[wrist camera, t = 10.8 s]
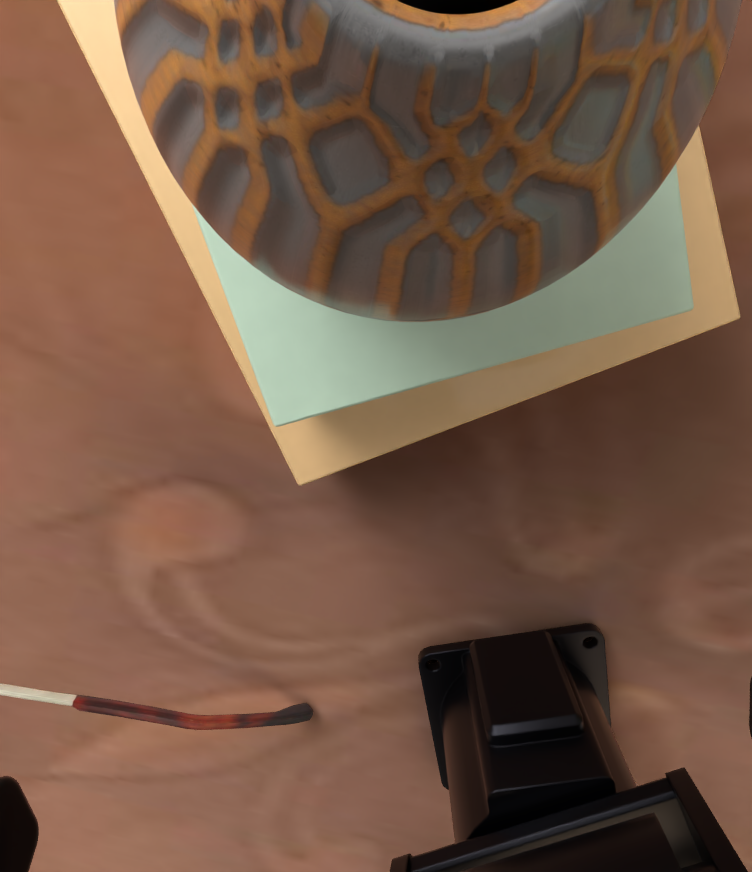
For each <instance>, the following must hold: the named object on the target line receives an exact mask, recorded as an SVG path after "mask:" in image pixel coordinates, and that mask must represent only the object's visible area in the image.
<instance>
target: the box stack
mask: <svg viewBox="0 0 752 872" xmlns="http://www.w3.org/2000/svg"><path fill="white" fill-rule="evenodd" d="M57 2H58V4H59V6H60V8H61V10H62V12H63V14H64V16H65V18H66V20H67V22H68V24H69V26H70V28H71V30H72V32H73V34H74V36H75V38H76V40H77V42H78V44H79V46H80V48H81V50H82V52H83V54H84V56H85V58H86V60H87V62H88V64H89V66H90V68H91V70H92V72H93V74H94V76H95V78H96V80H97V82H98V84H99V86H100V88H101V90H102V92H103V94H104V96H105V98H106V100H107V102H108V104H109V106H110V108H111V110H112V112H113V114H114V116H115V118H116V120H117V122H118V124H119V126H120V128H121V130H122V132H123V134H124V136H125V138H126V140H127V142H128V144H129V146H130V148H131V150H132V152H133V154H134V156H135V158H136V160H137V162H138V164H139V166H140V168H141V170H142V172H143V174H144V176H145V178H146V180H147V182H148V184H149V186H150V188H151V190H152V192H153V194H154V196H155V198H156V201H157V203H158V205H159V207H160V209H161V211H162V213H163V215H164V217H165V219H166V221H167V223H168V225H169V227H170V229H171V231H172V233H173V235H174V237H175V239H176V241H177V243H178V245H179V247H180V249H181V251H182V253H183V255H184V257H185V259H186V261H187V263H188V265H189V267H190V269H191V271H192V273H193V275H194V277H195V279H196V281H197V283H198V285H199V287H200V289H201V291H202V293H203V295H204V297H205V299H206V301H207V303H208V305H209V307H210V309H211V311H212V313H213V315H214V317H215V319H216V321H217V323H218V325H219V327H220V329H221V331H222V333H223V335H224V337H225V339H226V341H227V343H228V345H229V347H230V349H231V351H232V353H233V355H234V357H235V359H236V361H237V363H238V365H239V367H240V369H241V371H242V373H243V375H244V377H245V379H246V381H247V383H248V385H249V387H250V389H251V391H252V393H253V395H254V397H255V399H256V401H257V403H258V405H259V407H260V409H261V411H262V413H263V415H264V417H265V419H266V421H267V423H268V425H269V427H270V429H271V431H272V433H273V435H274V437H275V439H276V441H277V443H278V445H279V448H280V450H281V452H282V454H283V456H284V458H285V460H286V462H287V464H288V466H289V468H290V470H291V472H292V474H293V476H294V478H295V480H296V482H297V484H298V485H299V486H301V485H304V484H307V483H309V482H312V481H315V480H317V479H320V478H322V477H325V476H328V475H330V474H333V473H336V472H338V471H341V470H343V469H346V468H349V467H351V466H354V465H357V464H359V463H362V462H364V461H367V460H370V459H372V458H375V457H378V456H380V455H383V454H386V453H388V452H391V451H393V450H396V449H399V448H401V447H404V446H407V445H409V444H412V443H414V442H417V441H420V440H422V439H425V438H428V437H430V436H433V435H435V434H438V433H441V432H443V431H446V430H449V429H451V428H454V427H456V426H459V425H462V424H464V423H467V422H470V421H472V420H475V419H477V418H480V417H483V416H485V415H488V414H491V413H493V412H496V411H498V410H501V409H504V408H506V407H509V406H512V405H514V404H517V403H519V402H522V401H525V400H527V399H530V398H533V397H535V396H538V395H541V394H543V393H546V392H548V391H551V390H554V389H556V388H559V387H562V386H564V385H567V384H569V383H572V382H575V381H577V380H580V379H583V378H585V377H588V376H590V375H593V374H596V373H598V372H601V371H604V370H606V369H609V368H611V367H614V366H617V365H619V364H622V363H625V362H627V361H630V360H632V359H635V358H638V357H640V356H643V355H646V354H648V353H651V352H653V351H656V350H659V349H661V348H664V347H667V346H669V345H672V344H674V343H677V342H680V341H682V340H685V339H688V338H690V337H693V336H696V335H698V334H701V333H703V332H706V331H709V330H711V329H714V328H717V327H719V326H722V325H724V324H727V323H730V322H732V321H735V320H737V319H739V318H740V312H739V307H738V303H737V298H736V294H735V289H734V284H733V280H732V275H731V271H730V266H729V261H728V257H727V252H726V248H725V243H724V238H723V234H722V229H721V225H720V220H719V215H718V211H717V206H716V202H715V197H714V192H713V188H712V183H711V179H710V174H709V169H708V165H707V160H706V156H705V151H704V146H703V142H702V137H701V133H700V128H699V125H698V127H697V129H696V130H695V132H694V134H693V136H692V138H691V140H690V141H689V143H688V145H687V146H686V148H685V149H684V151H683V153H682V154H681V156H680V158H679V159H678V161H677V162H676V164H675V166H674V167H673V169H672V170H671V172H670V173H669V174H668V176H667V177H666V179H665V180H664V182H663V183H662V184H661V186H660V187H659V189H658V190H657V191H656V192H655V194H654V195H653V196H652V197H651V198H650V200H649V201H648V202H647V203H646V205H645V206H644V207H643V208H642V209H641V210H640V211H639V213H638V214H637V215H636V216H635V217H634V218H633V219H632V220H631V221H630V222H629V223H628V224H627V225H626V226H625V227H624V228H623V229H622V230H621V231H620V232H619V233H618V234H617V235H616V236H615V237H614V238H613V239H612V240H611V241H610V242H609V243H607V244H606V245H605V246H604V247H603V248H602V249H601V250H599V251H598V252H597V253H596V254H595V255H593V256H592V257H591V258H590V259H588V260H587V261H586V262H585V263H583V264H582V265H580V266H579V267H577V268H576V269H574V270H573V271H572V272H570V273H569V274H567V275H566V276H564V277H562V278H561V279H559V280H557V281H556V282H554V283H552V284H551V285H549V286H547V287H545V288H543V289H541V290H539V291H537V292H535V293H533V294H531V295H529V296H527V297H525V298H523V299H521V300H518V301H516V302H513V303H511V304H508V305H506V306H503V307H500V308H497V309H494V310H491V311H488V312H484V313H480V314H476V315H472V316H468V317H463V318H457V319H450V320H443V321H431V322H398V321H385V320H378V319H372V318H366V317H361V316H357V315H353V314H349V313H345V312H341V311H338V310H335V309H332V308H329V307H326V306H323V305H321V304H319V303H316V302H314V301H311V300H309V299H306V298H304V297H303V296H301V295H299V294H297V293H295V292H293V291H291V290H289V289H287V288H285V287H284V286H282V285H280V284H279V283H277V282H275V281H274V280H272V279H270V278H269V277H267V276H266V275H265V274H263V273H262V272H260V271H259V270H258V269H256V268H255V267H253V266H252V265H251V264H250V263H249V262H247V261H246V260H245V259H244V258H243V257H241V256H240V255H239V254H238V253H236V252H235V251H234V250H233V249H232V248H231V247H230V246H229V245H228V244H227V243H226V242H225V241H224V240H223V239H222V238H221V237H220V236H219V235H218V234H217V233H216V232H215V231H214V230H213V228H212V227H211V226H210V225H209V224H208V223H207V222H206V221H205V219H204V218H203V217H202V216H201V214H200V213H199V212H198V211H197V209H196V208H195V207H194V205H193V204H192V203H191V202H190V200H189V199H188V198H187V196H186V195H185V193H184V192H183V190H182V189H181V187H180V186H179V184H178V183H177V181H176V180H175V178H174V177H173V175H172V173H171V172H170V170H169V168H168V166H167V165H166V163H165V161H164V160H163V158H162V156H161V154H160V152H159V150H158V148H157V146H156V144H155V142H154V140H153V138H152V136H151V134H150V131H149V129H148V126H147V124H146V121H145V119H144V117H143V114H142V112H141V109H140V107H139V104H138V102H137V99H136V96H135V93H134V90H133V87H132V84H131V81H130V78H129V75H128V71H127V67H126V63H125V59H124V55H123V51H122V47H121V42H120V37H119V31H118V26H117V21H116V14H115V6H114V0H57Z"/></svg>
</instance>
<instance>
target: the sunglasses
mask: <svg viewBox="0 0 752 872" xmlns="http://www.w3.org/2000/svg"><path fill="white" fill-rule="evenodd" d="M0 695H4V696H10V697H16V698H22V699H28V700H34V701H41V702H48V703H54V704H61V705H68V706H73V707H75V708H76V709H77V710H79V711H85V712H92V713H99V714H105V715H112V716H119V717H124V718H130V719H136V720H142V721H148V722H153V723H159V724H165V725H170V726H175V727H180V728H185V729H195V730H212V729H234V728H250V727H263V726H275V725H287V724H294V723H300V722H304V721H308V720H310V719H311V718H312V716H313V710H312V709H311V708H310V706H309V705H308V704H307V703H303V704H298V705H293V706H291V707H288V708H285V709H283V710H280V711H277V712H270V713H255V714H233V715H194V714H187V713H182V712H177V711H172V710H167V709H161V708H156V707H150V706H145V705H139V704H134V703H128V702H122V701H117V700H110V699H103V698H96V697H90V696H82V695H73V694H65V693H57V692H50V691H44V690H38V689H32V688H26V687H20V686H14V685H8V684H2V683H0Z"/></svg>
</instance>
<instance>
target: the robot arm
mask: <svg viewBox="0 0 752 872" xmlns="http://www.w3.org/2000/svg"><path fill="white" fill-rule="evenodd" d="M587 637H593V638H592V639H591V640H589V641H583V640H584V639H585V638H587ZM432 659H433V660H437V662H436V663H434V664H432V663H428V661H429V660H432ZM418 661H419V670H420V675H421V680H422V685H423V690H424V695H425V700H426V705H427V710H428V715H429V720H430V725H431V730H432V736H433V741H434V746H435V751H436V756H437V761H438V766H439V771H440V776H441V781H442V784H443V786H444V787H445V788H446V789H448V790H449V794H450V803H451V811H452V820H453V829H454V837H455V844H452V845H448V846H445V847H442V848H439V849H436V850H433V851H429V852H426V853H423V854H420V855H417V856H413V857H412V855H411V854H407V855H404V856H401V857H397V858H394V859H393V860H392V863H391V869H390V872H748V871H747V870H746V868H745V866H744V865H743V863H742V861H741V860H740V858H739V856H738V855H737V853H736V851H735V850H734V848H733V847H732V845H731V843H730V842H729V840H728V838H727V837H726V835H725V833H724V832H723V830H722V828H721V827H720V825H719V823H718V822H717V820H716V819H715V817H714V815H713V814H712V812H711V810H710V809H709V807H708V805H707V804H706V802H705V800H704V799H703V797H702V795H701V794H700V792H699V791H698V789H697V787H696V786H695V784H694V782H693V781H692V779H691V777H690V776H689V774H688V772H687V771H686V769H685V768H681V769H677V770H674V771H671V772H668V773H665V774H666V778H662V779H659V780H656V781H653V782H650V783H646V784H643V785H640V786H636V784H635V782H634V780H633V777H632V775H631V773H630V770H629V768H628V766H627V764H626V761H625V759H624V757H623V754H622V752H621V750H620V748H619V745H618V743H617V741H616V738H615V736H614V734H613V732H612V729H611V720H610V707H609V693H608V680H607V666H606V653H605V640H604V637H603V635H602V633H601V631H600V629H599V628H598V627H597V626H596V625H593V624H580V625H573V626H566V627H559V628H553V629H546V630H539V631H532V632H525V633H518V634H512V635H505V636H498V637H491V638H484V639H477V640H471V641H464V642H457V643H450V644H443V645H436V646H430V647H427V648H424V649H423V650H422V651H421V652H420V654H419V657H418ZM749 727H750V734H751V737H752V677H751V681H750V715H749ZM38 834H39V828H38V822H37V819H36V817H35V815H34V813H33V811H32V809H31V807H30V805H29V803H28V801H27V799H26V797H25V795H24V793H23V791H22V789H21V787H20V785H19V783H18V782H17V780H15V779H14V778H12V777H9V776H3V777H0V872H28V871H29V868H30V865H31V862H32V859H33V855H34V852H35V849H36V846H37V841H38Z"/></svg>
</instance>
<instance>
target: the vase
mask: <svg viewBox="0 0 752 872" xmlns="http://www.w3.org/2000/svg"><path fill="white" fill-rule="evenodd" d="M741 2H742V0H114V6H115V14H116V21H117V26H118V31H119V37H120V42H121V47H122V51H123V55H124V59H125V63H126V67H127V71H128V75H129V78H130V81H131V84H132V87H133V90H134V93H135V96H136V99H137V102H138V104H139V107H140V109H141V112H142V114H143V117H144V119H145V121H146V124H147V126H148V129H149V131H150V134H151V136H152V138H153V140H154V142H155V144H156V146H157V148H158V150H159V152H160V154H161V156H162V158H163V160H164V161H165V163H166V165H167V166H168V168H169V170H170V172H171V173H172V175H173V177H174V178H175V180H176V181H177V183H178V184H179V186H180V187H181V189H182V190H183V192H184V193H185V195H186V196H187V198H188V199H189V200H190V202H191V203H192V204H193V205H194V207H195V208H196V209H197V211H198V212H199V213H200V214H201V216H202V217H203V218H204V219H205V221H206V222H207V223H208V224H209V225H210V226H211V227H212V228H213V230H214V231H215V232H216V233H217V234H218V235H219V236H220V237H221V238H222V239H223V240H224V241H225V242H226V243H227V244H228V245H229V246H230V247H231V248H232V249H233V250H234V251H235V252H236V253H238V254H239V255H240V256H241V257H243V258H244V259H245V260H246V261H247V262H249V263H250V264H251V265H252V266H253V267H255V268H256V269H258V270H259V271H260V272H262V273H263V274H265V275H266V276H267V277H269V278H270V279H272V280H274V281H275V282H277V283H279V284H280V285H282V286H284V287H285V288H287V289H289V290H291V291H293V292H295V293H297V294H299V295H301V296H303V297H304V298H306V299H309V300H311V301H314V302H316V303H319V304H321V305H323V306H326V307H329V308H332V309H335V310H338V311H341V312H345V313H349V314H353V315H357V316H361V317H366V318H372V319H378V320H385V321H398V322H431V321H443V320H450V319H457V318H463V317H468V316H472V315H476V314H480V313H484V312H488V311H491V310H494V309H497V308H500V307H503V306H506V305H508V304H511V303H513V302H516V301H518V300H521V299H523V298H525V297H527V296H529V295H531V294H533V293H535V292H537V291H539V290H541V289H543V288H545V287H547V286H549V285H551V284H552V283H554V282H556V281H557V280H559V279H561V278H562V277H564V276H566V275H567V274H569V273H570V272H572V271H573V270H574V269H576V268H577V267H579V266H580V265H582V264H583V263H585V262H586V261H587V260H588V259H590V258H591V257H592V256H593V255H595V254H596V253H597V252H598V251H599V250H601V249H602V248H603V247H604V246H605V245H606V244H607V243H609V242H610V241H611V240H612V239H613V238H614V237H615V236H616V235H617V234H618V233H619V232H620V231H621V230H622V229H623V228H624V227H625V226H626V225H627V224H628V223H629V222H630V221H631V220H632V219H633V218H634V217H635V216H636V215H637V214H638V213H639V211H640V210H641V209H642V208H643V207H644V206H645V205H646V203H647V202H648V201H649V200H650V198H651V197H652V196H653V195H654V194H655V192H656V191H657V190H658V189H659V187H660V186H661V184H662V183H663V182H664V180H665V179H666V177H667V176H668V174H669V173H670V172H671V170H672V169H673V167H674V166H675V164H676V162H677V161H678V159H679V158H680V156H681V154H682V153H683V151H684V149H685V148H686V146H687V145H688V143H689V141H690V140H691V138H692V136H693V134H694V132H695V130H696V129H697V127H698V125H699V123H700V121H701V119H702V117H703V115H704V113H705V111H706V109H707V107H708V104H709V102H710V100H711V98H712V95H713V93H714V91H715V89H716V86H717V83H718V81H719V78H720V75H721V73H722V70H723V67H724V65H725V62H726V58H727V55H728V52H729V48H730V45H731V42H732V38H733V35H734V31H735V28H736V24H737V19H738V15H739V11H740V6H741Z"/></svg>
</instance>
